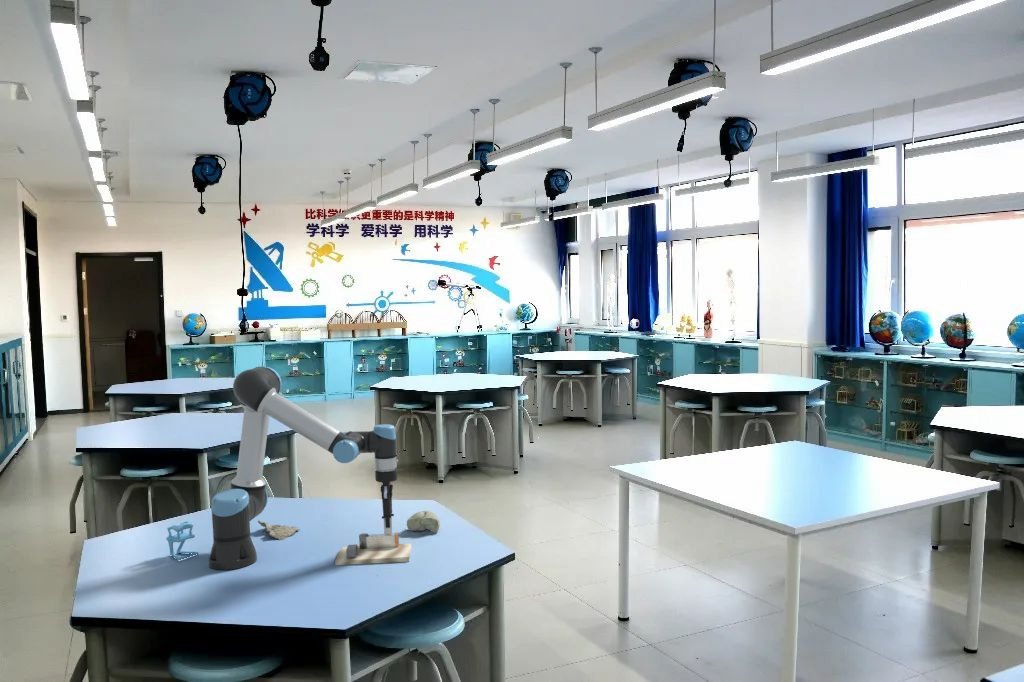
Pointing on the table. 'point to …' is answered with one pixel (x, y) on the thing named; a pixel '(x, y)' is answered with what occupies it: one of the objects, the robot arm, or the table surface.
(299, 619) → the table surface
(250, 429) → the robot arm
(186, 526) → the chair
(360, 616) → the table surface
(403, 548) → the plate
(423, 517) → the seashell
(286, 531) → the dried leaf
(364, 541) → the bar
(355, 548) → the block
